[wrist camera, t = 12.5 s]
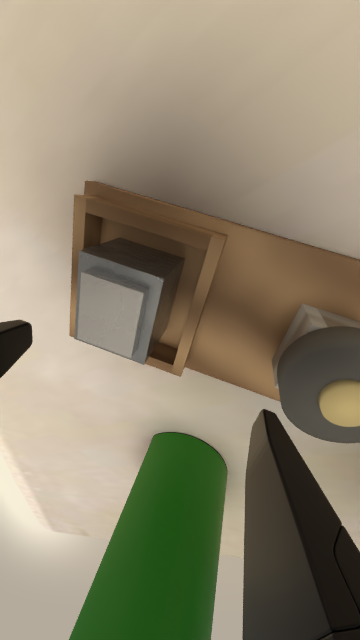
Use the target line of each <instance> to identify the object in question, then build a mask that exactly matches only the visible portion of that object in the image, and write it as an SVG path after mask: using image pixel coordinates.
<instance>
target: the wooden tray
mask: <svg viewBox="0 0 360 640" xmlns="http://www.w3.org/2000/svg"><path fill="white" fill-rule="evenodd" d="M119 237H120V238H123V239H126V240H130V241H133V242H136V243H139V244H142V245H145V246H148V247H151V248H154V249H157V250H161V251H164V252H167V253H170V254H173V255H176V256H179V257H182V258H185V261H184V265H183V269H182V272H181V276H180V280H179V284H178V288H177V291H176V295H175V299H174V303H173V307H172V310H171V314H170V318H169V322H168V326H167V329H166V331H165V332H164V334H163V336H162V337H161V339H160V340H159V342H158V343H157V345H156V347H155V348H154V350H153V351H152V353H151V355H150V356H149V358H148V359H147V361H146V363H145V364H147V365H150V366H153V367H156V368H158V369H161V370H164V371H166V372H169V373H172V374H174V375H177V376H180V377H181V374H182V372H183V369H184V367H187V368H189V369H192V370H195V371H198V372H200V373H203V374H206V375H209V376H211V377H214V378H217V379H220V380H222V381H225V382H228V383H231V384H233V385H236V386H239V387H242V388H244V389H247V390H250V391H253V392H255V393H258V394H261V395H264V396H266V397H269V398H272V399H275V400H277V401H280V394H279V387H278V380H277V366H278V362H279V360H280V357H281V355H282V354H283V352H284V351H285V350H286V348H287V347H288V346H289V345H290V344H291V343H293V342H294V341H295V340H296V339H298V338H299V337H301V336H303V335H305V334H307V333H309V332H312V331H314V330H318V329H321V328H326V327H334V326H349V327H356V328H360V260H358V259H354V258H351V257H348V256H344V255H341V254H337V253H334V252H331V251H327V250H324V249H321V248H317V247H314V246H310V245H307V244H304V243H300V242H297V241H294V240H290V239H287V238H283V237H280V236H277V235H273V234H270V233H266V232H263V231H260V230H256V229H253V228H250V227H246V226H243V225H239V224H236V223H233V222H229V221H226V220H223V219H219V218H216V217H212V216H209V215H206V214H202V213H199V212H196V211H192V210H189V209H185V208H182V207H179V206H175V205H172V204H168V203H165V202H162V201H158V200H155V199H152V198H148V197H145V196H141V195H138V194H135V193H131V192H128V191H125V190H121V189H118V188H114V187H111V186H108V185H104V184H101V183H98V182H93V181H85V192H84V195H74V218H73V248H72V277H71V306H70V336H71V337H74V338H75V319H76V299H77V280H78V261H79V250H83V249H86V248H89V247H92V246H95V245H98V244H101V243H104V242H107V241H110V240H113V239H116V238H119ZM280 402H281V401H280Z"/></svg>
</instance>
